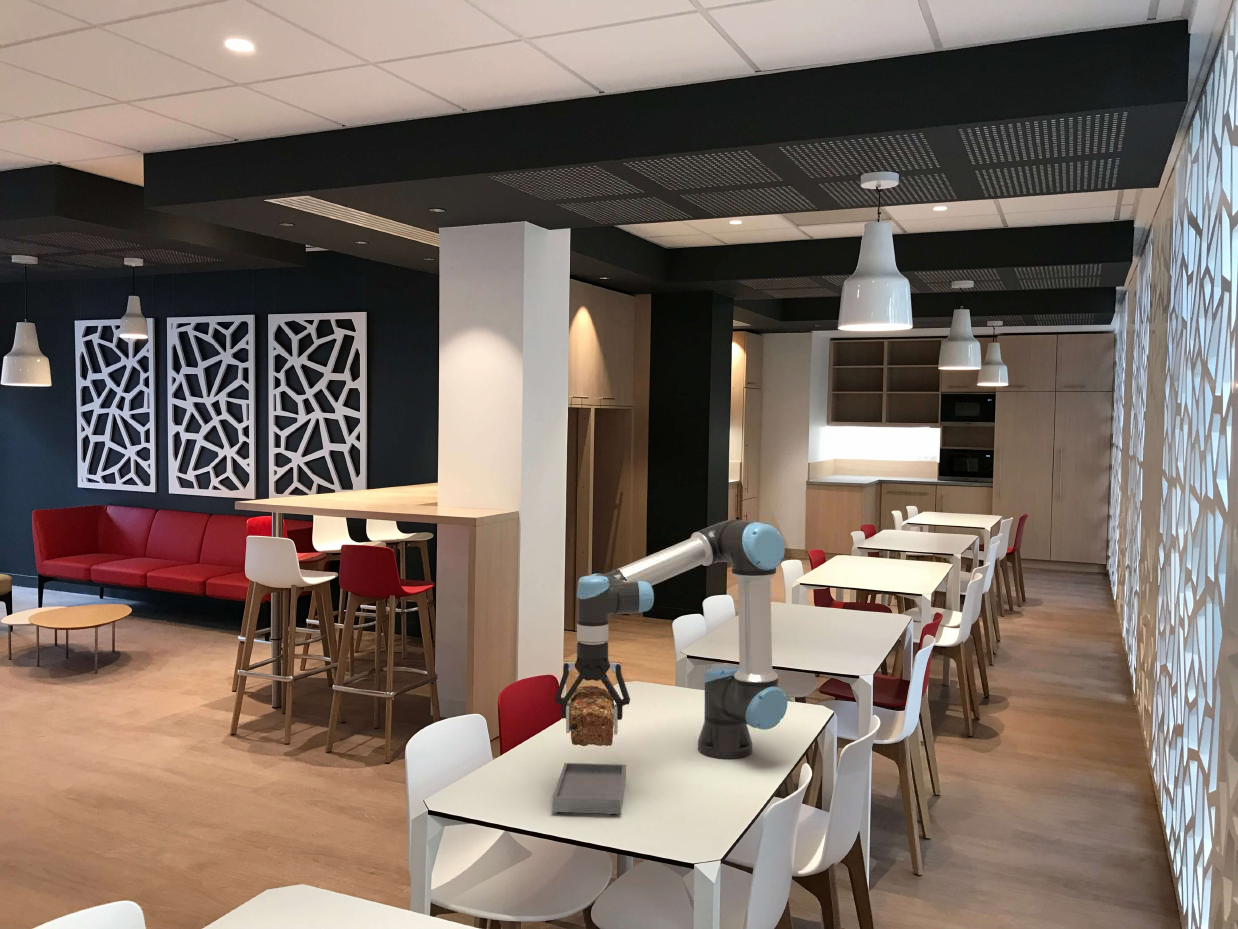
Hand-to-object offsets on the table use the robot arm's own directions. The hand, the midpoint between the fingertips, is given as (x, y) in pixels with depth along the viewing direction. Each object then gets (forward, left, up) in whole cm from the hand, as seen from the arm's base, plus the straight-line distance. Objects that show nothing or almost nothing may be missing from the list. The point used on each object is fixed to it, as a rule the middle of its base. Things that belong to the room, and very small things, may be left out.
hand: (591, 732), depth 230 cm
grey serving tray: (0, 0, -16) cm, 16 cm away
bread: (0, 0, -1) cm, 1 cm away
